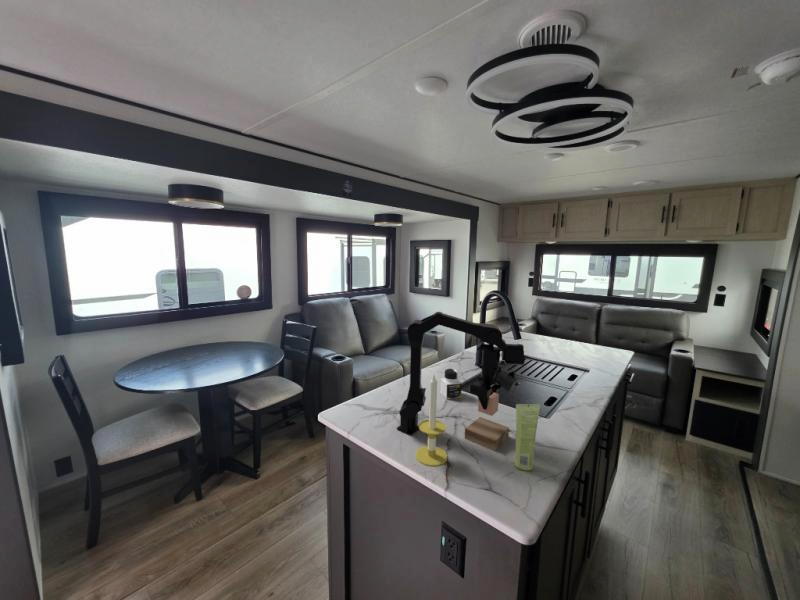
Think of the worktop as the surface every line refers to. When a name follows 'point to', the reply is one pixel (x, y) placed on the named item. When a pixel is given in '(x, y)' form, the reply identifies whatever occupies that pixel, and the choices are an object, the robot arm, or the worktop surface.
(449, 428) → the worktop surface
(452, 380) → the medicine bottle
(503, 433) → the walnut block
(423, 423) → the candle
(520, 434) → the tube
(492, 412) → the terracotta block
